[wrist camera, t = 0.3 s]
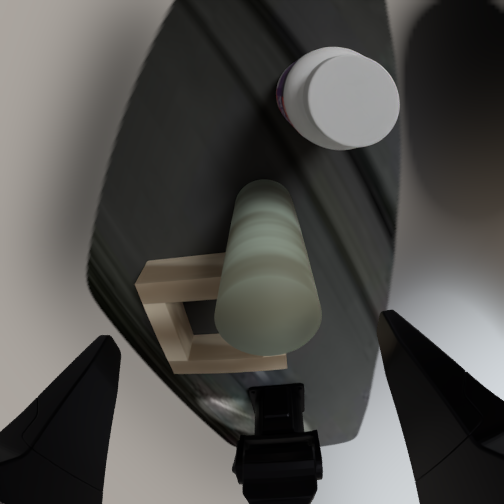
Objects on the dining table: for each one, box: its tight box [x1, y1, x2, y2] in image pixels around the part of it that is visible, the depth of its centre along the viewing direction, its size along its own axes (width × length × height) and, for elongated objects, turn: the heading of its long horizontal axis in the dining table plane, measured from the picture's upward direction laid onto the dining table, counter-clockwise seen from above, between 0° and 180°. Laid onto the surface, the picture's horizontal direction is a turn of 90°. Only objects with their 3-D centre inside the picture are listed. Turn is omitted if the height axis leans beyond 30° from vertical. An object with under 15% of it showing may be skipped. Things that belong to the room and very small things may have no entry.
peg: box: [214, 179, 322, 356], centre depth 18 cm, size 4×4×12 cm
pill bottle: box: [276, 47, 399, 150], centre depth 15 cm, size 5×5×10 cm
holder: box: [135, 252, 287, 374], centre depth 27 cm, size 11×11×4 cm
